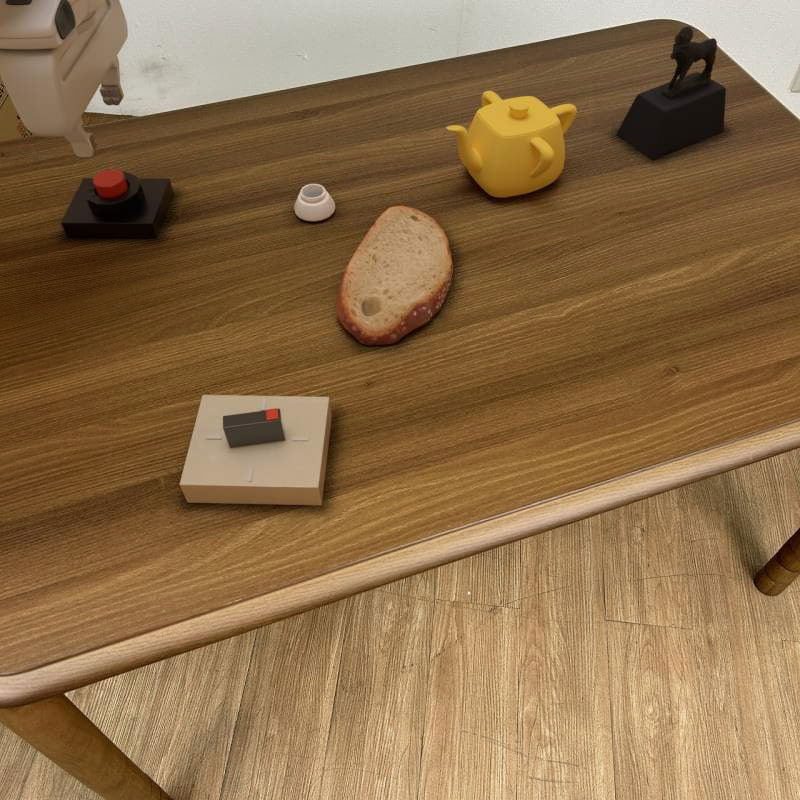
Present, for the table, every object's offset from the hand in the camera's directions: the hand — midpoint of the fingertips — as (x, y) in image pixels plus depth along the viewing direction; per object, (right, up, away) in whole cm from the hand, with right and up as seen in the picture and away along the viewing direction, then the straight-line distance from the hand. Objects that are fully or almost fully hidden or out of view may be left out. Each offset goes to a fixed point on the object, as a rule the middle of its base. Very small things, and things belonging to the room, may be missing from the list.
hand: (101, 126), depth 76 cm
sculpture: (+68, +8, +26) cm, 73 cm away
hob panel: (+18, -33, -7) cm, 39 cm away
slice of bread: (+30, -14, +8) cm, 34 cm away
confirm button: (-4, -3, +13) cm, 14 cm away
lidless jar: (+20, -5, +16) cm, 26 cm away
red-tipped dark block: (+18, -32, -10) cm, 38 cm away
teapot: (+44, 0, +20) cm, 48 cm away
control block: (-4, -5, +16) cm, 17 cm away
